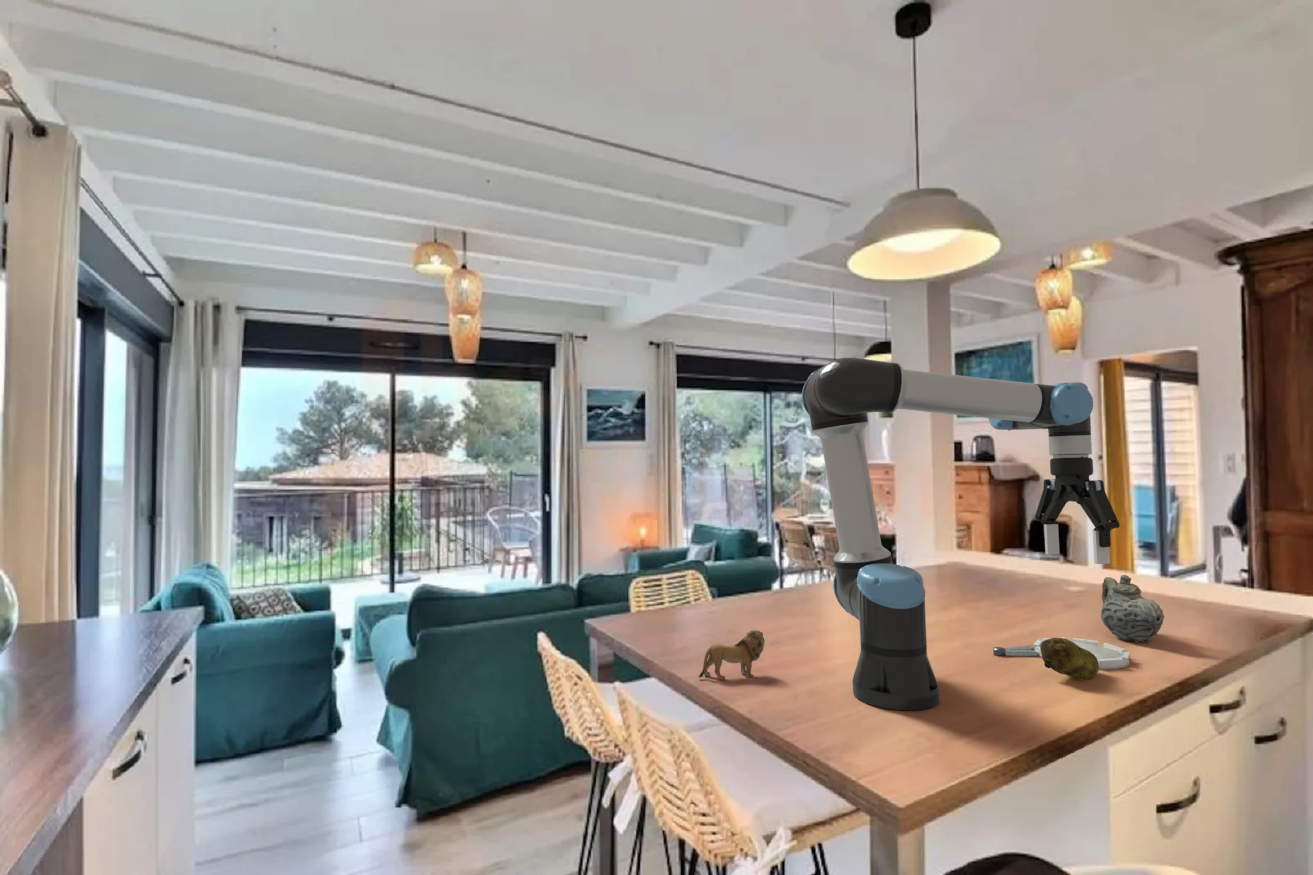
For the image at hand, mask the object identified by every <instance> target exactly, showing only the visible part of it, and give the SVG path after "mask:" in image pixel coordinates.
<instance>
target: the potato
mask: <svg viewBox="0 0 1313 875" xmlns="http://www.w3.org/2000/svg"><path fill="white" fill-rule="evenodd" d="M1049 638H1050V639H1047V640H1045V641H1044V642H1042V644H1041V646H1040V649H1041V655H1042V660H1043V662H1044V667H1045V668H1047V669H1051V670H1053V672H1057V673H1058V674H1060V675H1065V676H1068V677H1070V678H1072V679H1075V680H1089V679H1092V678H1094V677H1095V676H1096V675H1097V674H1098V672H1099V670H1100V669H1099V664H1098V660H1097V658H1096V657H1095V655H1094V654H1092V653H1091V652H1090V651H1088V650H1086V649H1083V648H1081V647H1079V646H1078V645H1076V644H1075V643H1074V642H1073V641H1072V640H1070V639H1064V638H1065V637H1064V638H1059V637H1049Z"/></svg>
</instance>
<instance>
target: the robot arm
mask: <svg viewBox="0 0 1313 875" xmlns="http://www.w3.org/2000/svg"><path fill="white" fill-rule="evenodd" d="M801 402H802V404H803V408H804V410H805V411H806V413H807V414H808V416H809V419H810V420H809V421H810V425H811V426H810V427H811V431H812V432H811V433H813V434H814V435H816V437H818V438H819V439H820V442H821V448H822V449H821V450H822V453H823V458H824V459H823V460H824V465H825V470H826V471H825V472H826V477H827V478H826V479H827V483H828V490H829V495H830V502H831V506H832V512H833V518H834V519H833V520H834V524H835V532H836V538H837V543H838V552H837V553H835V555H834V557H833V564H834V571H835V573H834V576H833V581H832V587H833V588H832V589H833V593H834V596H835V598H836V599H837V602H838V603H839V605H840V606H841V607H842V608H843V610H844V611H845V612H846V613H847V614H848V613H849V614H850V615H851V616H852V617H854V618H856V619H857V620H858V621H859V636H860V637H859V640H860V651H859V652H860V654H859V656H858V659H857V663H856V666H855V669H854V674H853V677H852V693H853V695H854V697H856V698H857V699H859V701H861V702H864V703H866V704H869V705H872V706H874V707H879V708H884V709H889V710H890V709H891V710H896V711H897V710H898V711H899V710H900V711H918V710H919V711H920V710H924V709H929V708H932V707H934V706H936V705H938V704H939V703H940V700H941V699H940V698H941V697H940V686H939V684H938V681H937V677H936V675H935V673H934V670H933V667H932V665H931V663H930V659H929V657H928V650H927V648H928V647H927V646H928V645H927V625H926V624H927V623H926V620H927V619H926V590H925V587H924V580H923V576H922V575H921V574H920V573H919V572H918V571H917V570H915V569H914V568H912V567H908V566H905V565H903V566H902V565H900V564H894V563H893V558H892V554H891V551H889V549H887V548H885V547H884V546H883V545H882V541H881V535H880V528H879V522H878V516H877V510H876V505H875V498H874V491H873V488H872V480H871V475H870V470H869V464H868V457H867V452H866V445H865V439H864V434H863V432H864V430H865V429H866V427H867V426H868V425H869V419H868V418H869V417H868V413H887V414H893V413H894V412H896V411H897V410H907V411H908V410H909V411H914V412H915V411H916V412H917V411H918V412H925V413H934V414H935V413H936V414H945V415H953V416H954V415H955V416H966V417H974V418H983V419H984V418H985V419H988V421H989V424H990V426H991V427H993V429H995V430H998V431H999V430H1001V431H1003V430H1004V431H1009V432H1010V431H1016V430H1018V431H1020V430H1040V429H1041V430H1047V432H1048V454H1049V456H1052V458H1050V459H1049V470H1050V471H1049V472H1050V475H1052V476H1054V477H1055V478H1049V479H1047V478H1045V479H1044V480H1043V486H1042V488H1043V489H1042V492H1041V496H1040V499H1039V501H1038V502H1039V503H1038V506H1037V509H1036V512H1035V515H1034V519H1035V520H1036V521H1040V523H1041V524H1042V530H1043V532H1042V533H1043V538H1044V550H1045V555H1051V556H1052V555H1060V554H1061V553H1060V537H1059V523H1058V521H1057V519H1058V518H1059V516H1060V515H1061V512H1062V511H1063V509H1064V508H1065V506H1066V504H1068V503H1069V502H1072V503H1073V502H1075V503H1076V504H1078V505H1080V507H1081V508H1082V510H1083V511H1084V512H1085V514H1086V516H1087V517H1088V519H1089V521H1090V522H1091V523H1092V525H1093V526H1094V528H1093V529H1092V543H1093V561H1094V562H1093V563H1094V564H1095V565H1107V564H1108V565H1110V564H1111V556H1110V555H1111V554H1110V548H1111V545H1112V542H1111V541H1112V540H1111V531H1112V530H1113V529H1118V528H1120V522H1119V519H1118V518H1117V515H1116V512H1115V511H1114V509H1113V508H1114V507H1113V506H1112V504H1111V502H1110V499H1109V498H1108V496H1107V493H1106V490H1105V484H1104V481H1103V480H1101V479H1097V480H1090V476H1092V475H1093V474H1094V461H1093V458H1092V457H1090V456H1089V455H1092V453H1093V448H1092V446H1093V444H1092V433H1091V432H1092V426H1091V423H1092V422H1091V414H1092V412H1093V410H1094V398H1093V395H1092V394H1091V392H1090V391H1089V388H1088V386H1087V384H1086V383H1083V382H1078V381H1076V382H1075V381H1073V382H1072V381H1071V382H1063V383H1062V382H1061V383H1052V384H1041V383H1033V382H1025V381H1024V382H1023V381H1015V380H1005V379H995V378H985V377H976V376H969V375H968V376H967V375H959V374H951V373H950V374H948V373H941V372H932V371H931V372H930V371H921V370H911V369H904V367H903V366H902V365H901V364H900V363H898V362H887V361H880V360H873V359H867V358H859V357H840V358H836V359H833V360H832V361H830V362H828V363H827V364H826V365H824V366H821V367H819V368H817V369H816V370H815V371H813V372H812V373H811V374H810V375H809V376H808V378H807V380H806V381H805V383H804V385H803V388H802V392H801Z"/></svg>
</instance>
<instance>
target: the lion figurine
mask: <svg viewBox="0 0 1313 875" xmlns="http://www.w3.org/2000/svg"><path fill="white" fill-rule="evenodd" d="M765 641H766V640H765V638H764V632H763V631H760V630H758V629H751V630H749V631H747V632H746V636H744V637H743V638H741V639H740V641H738V642H737V643H735V644H731V645H728V644H727V645H726V644H721V643H716V644H713V645H710V646H709V647H708V649H706V650H707V651H706V652H705V654H704V659H703V666H702V671H701V672H700V674H699V675H698V678H702V677H703V676H707V677H708V676H711V672H710V671H709V668H710V667H711V666H713V665H714V673H715V675H716V676H717V678H718V679H719V680H720V681H725V680H726V677H725V676H724V675H722V674H721V667H722V665H723V661H724V662H726V663H728V664H740V672H741V674H743V675H746V676H747V678H750V679H753V678H754V677H755V676H754V674H752V666H753V664H752V663H753V662H754V661H755V662H756V661H758V659H759V658H760V656H761V654H762V652H764V647H765V646H764V645H765Z"/></svg>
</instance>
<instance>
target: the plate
mask: <svg viewBox="0 0 1313 875" xmlns="http://www.w3.org/2000/svg"><path fill="white" fill-rule="evenodd" d="M1050 638H1051V637H1041V639H1036V641H1035V642H1034V643H1032V645H1033V649H1035V651H1037V652H1038V653H1039V656H1038V657H1039V658H1042V655H1041V649H1040V646H1041V644H1042V641H1043V642H1044V641H1045V640H1047V639H1050ZM1058 638H1064V639H1067V637H1063V636H1062V637H1059V636H1058ZM1067 640H1068V639H1067ZM1071 641H1072V642H1074V643H1075V644H1076V645H1078V646H1079V647H1081V648H1083V649H1086V650H1088V651H1090V652H1091V653H1092V654H1094V655H1095V657H1096V658H1097V660H1098V664H1099V670H1117V669H1122V668H1126V667H1128V666H1129V665H1130V659H1131V652H1130V651H1127V650H1128V649H1126V648H1123V647H1120V646H1117V645H1114V644H1113V643H1112V644H1111V643H1108V642H1104V643H1103V646H1102V645H1099V644H1100V643H1099V640H1094V639H1093V640H1092V639H1084V638H1078V637H1072V639H1071Z"/></svg>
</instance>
